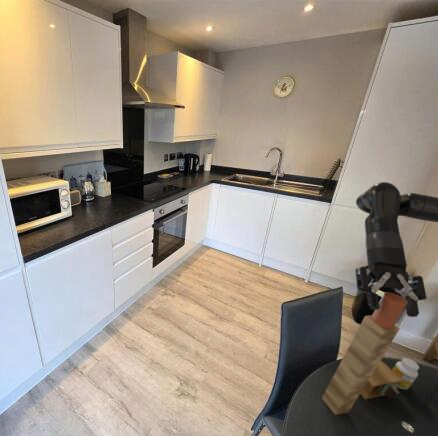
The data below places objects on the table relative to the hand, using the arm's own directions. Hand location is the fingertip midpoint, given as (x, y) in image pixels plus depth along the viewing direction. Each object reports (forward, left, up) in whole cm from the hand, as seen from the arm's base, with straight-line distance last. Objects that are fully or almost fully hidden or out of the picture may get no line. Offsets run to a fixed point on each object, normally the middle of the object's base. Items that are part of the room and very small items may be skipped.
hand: (393, 312), depth 61 cm
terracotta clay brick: (-1, -1, -5) cm, 5 cm away
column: (-1, -1, -40) cm, 40 cm away
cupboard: (-19, -5, -40) cm, 44 cm away
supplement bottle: (-31, -4, -40) cm, 50 cm away
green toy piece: (-21, 0, -38) cm, 44 cm away
